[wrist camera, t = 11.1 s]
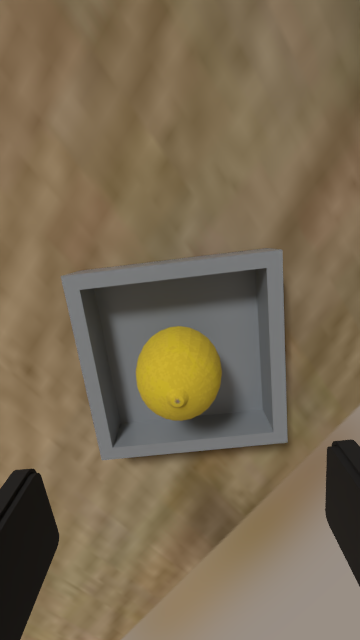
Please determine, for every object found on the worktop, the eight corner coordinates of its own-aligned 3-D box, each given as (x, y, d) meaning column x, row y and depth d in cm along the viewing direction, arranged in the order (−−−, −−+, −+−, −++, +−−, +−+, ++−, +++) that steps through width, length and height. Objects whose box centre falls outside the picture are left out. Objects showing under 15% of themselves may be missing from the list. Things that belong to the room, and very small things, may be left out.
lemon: (229, 350, 23) (252, 405, 15) (177, 393, 24) (174, 464, 16) (182, 299, 22) (180, 330, 14) (130, 346, 23) (102, 398, 15)
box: (79, 270, 22) (60, 276, 19) (266, 248, 22) (282, 249, 18) (112, 431, 26) (101, 460, 22) (273, 415, 25) (287, 442, 22)
